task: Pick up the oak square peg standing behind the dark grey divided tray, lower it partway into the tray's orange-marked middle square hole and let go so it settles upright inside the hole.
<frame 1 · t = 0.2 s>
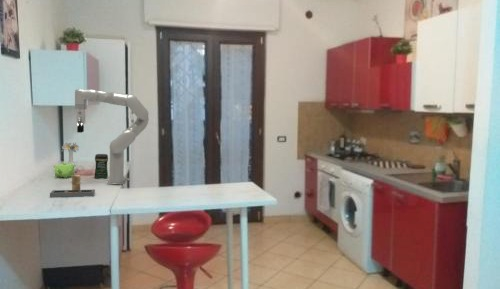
hand: (80, 132, 278), 36 cm above the table, tool pointing down, fingers open, 9 cm apart
oak peg: (76, 191, 256), on the table
flower vase: (70, 172, 330), on the table
kettle: (65, 177, 306), on the table
coffee jar: (101, 178, 308), on the table
dark grey divided tray: (73, 195, 243), on the table
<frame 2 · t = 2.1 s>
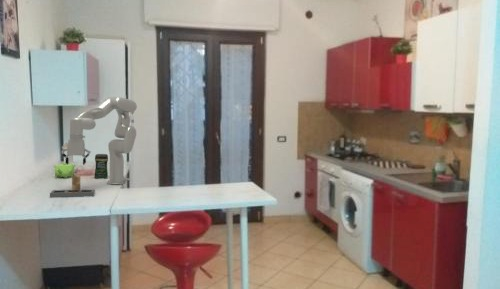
hand: (75, 164, 255), 17 cm above the table, tool pointing down, fingers open, 9 cm apart
nothing on the table moved.
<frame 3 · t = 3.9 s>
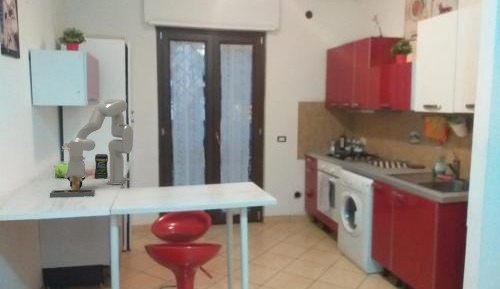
hand: (76, 187, 256), 2 cm above the table, tool pointing down, fingers closed on oak peg, 4 cm apart
oak peg: (76, 191, 256), on the table, touching gripper
everything else where it was.
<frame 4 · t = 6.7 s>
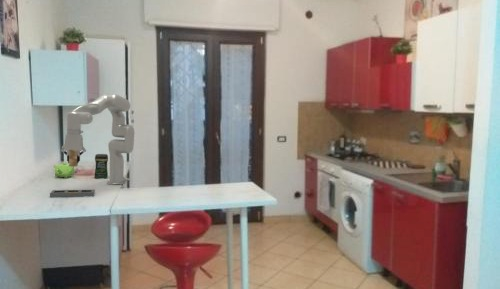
hand: (73, 162, 244), 20 cm above the table, tool pointing down, fingers closed on oak peg, 4 cm apart
oak peg: (73, 166, 244), point 18 cm above the table, touching gripper
everything else where it was.
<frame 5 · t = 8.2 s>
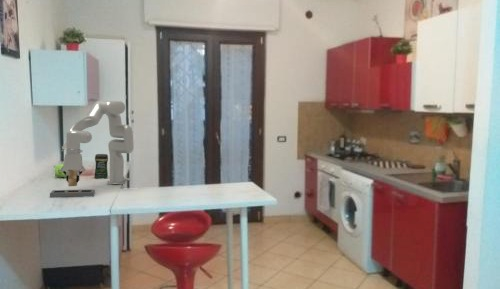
hand: (72, 181, 242), 8 cm above the table, tool pointing down, fingers closed on oak peg, 4 cm apart
oak peg: (72, 185, 242), point 6 cm above the table, touching gripper
everything else where it was.
when the fingers open (4 cm above the table, at t = 9.5 s): oak peg drops 1 cm, resting in dark grey divided tray.
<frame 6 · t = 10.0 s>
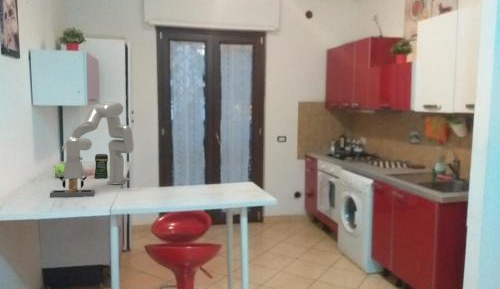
hand: (73, 187, 242), 5 cm above the table, tool pointing down, fingers open, 9 cm apart
oak peg: (73, 195, 243), resting in dark grey divided tray
everything else where it was.
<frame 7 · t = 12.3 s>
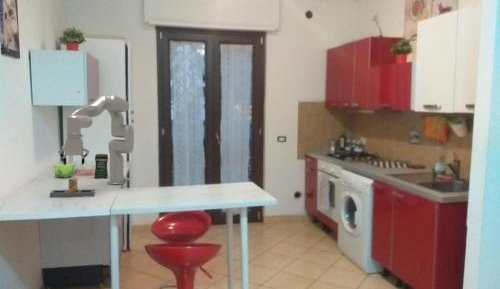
hand: (74, 164, 243), 19 cm above the table, tool pointing down, fingers open, 9 cm apart
nothing on the table moved.
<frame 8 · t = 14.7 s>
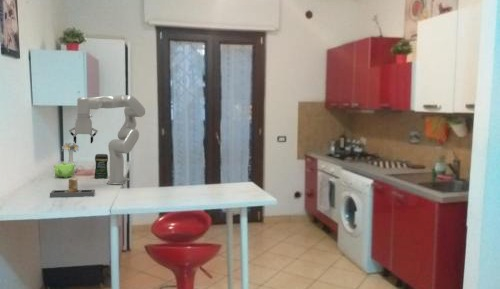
hand: (83, 143, 261), 30 cm above the table, tool pointing down, fingers open, 9 cm apart
nothing on the table moved.
at the end: oak peg 0.1 cm off-centre on the dark grey divided tray, point 0.0 cm above the dark grey divided tray's base; oak peg tilted 0°; the gripper is holding nothing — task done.
